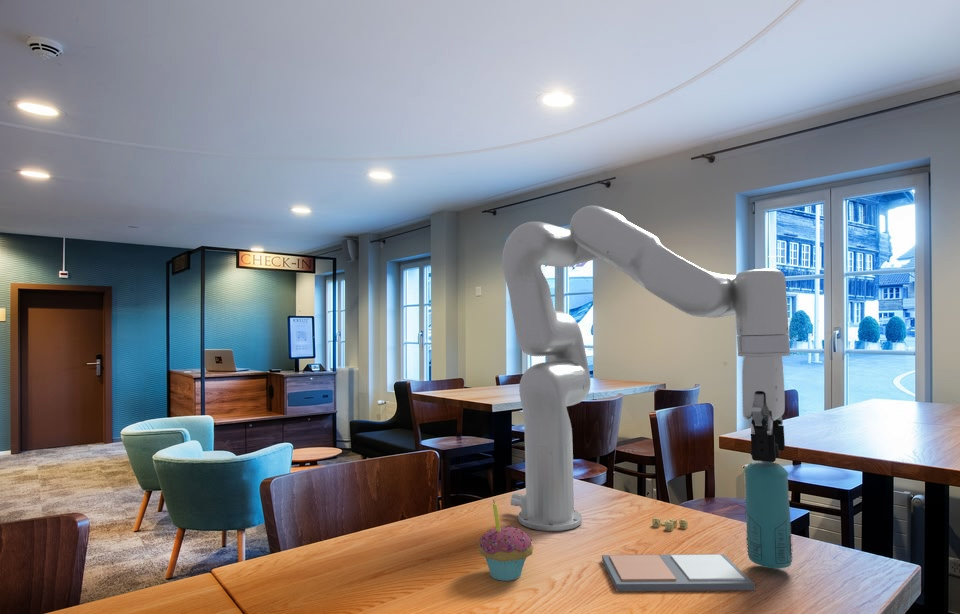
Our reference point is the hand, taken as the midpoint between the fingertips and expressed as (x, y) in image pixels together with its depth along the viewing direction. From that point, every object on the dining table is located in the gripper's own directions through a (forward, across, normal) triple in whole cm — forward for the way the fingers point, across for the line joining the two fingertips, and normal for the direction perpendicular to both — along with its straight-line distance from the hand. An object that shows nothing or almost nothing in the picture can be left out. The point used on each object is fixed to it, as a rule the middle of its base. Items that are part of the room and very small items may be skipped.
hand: (769, 454), depth 92 cm
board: (+18, +10, -13) cm, 24 cm away
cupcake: (+18, +24, -35) cm, 46 cm away
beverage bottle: (+18, 0, -1) cm, 18 cm away
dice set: (+18, -12, -20) cm, 30 cm away
